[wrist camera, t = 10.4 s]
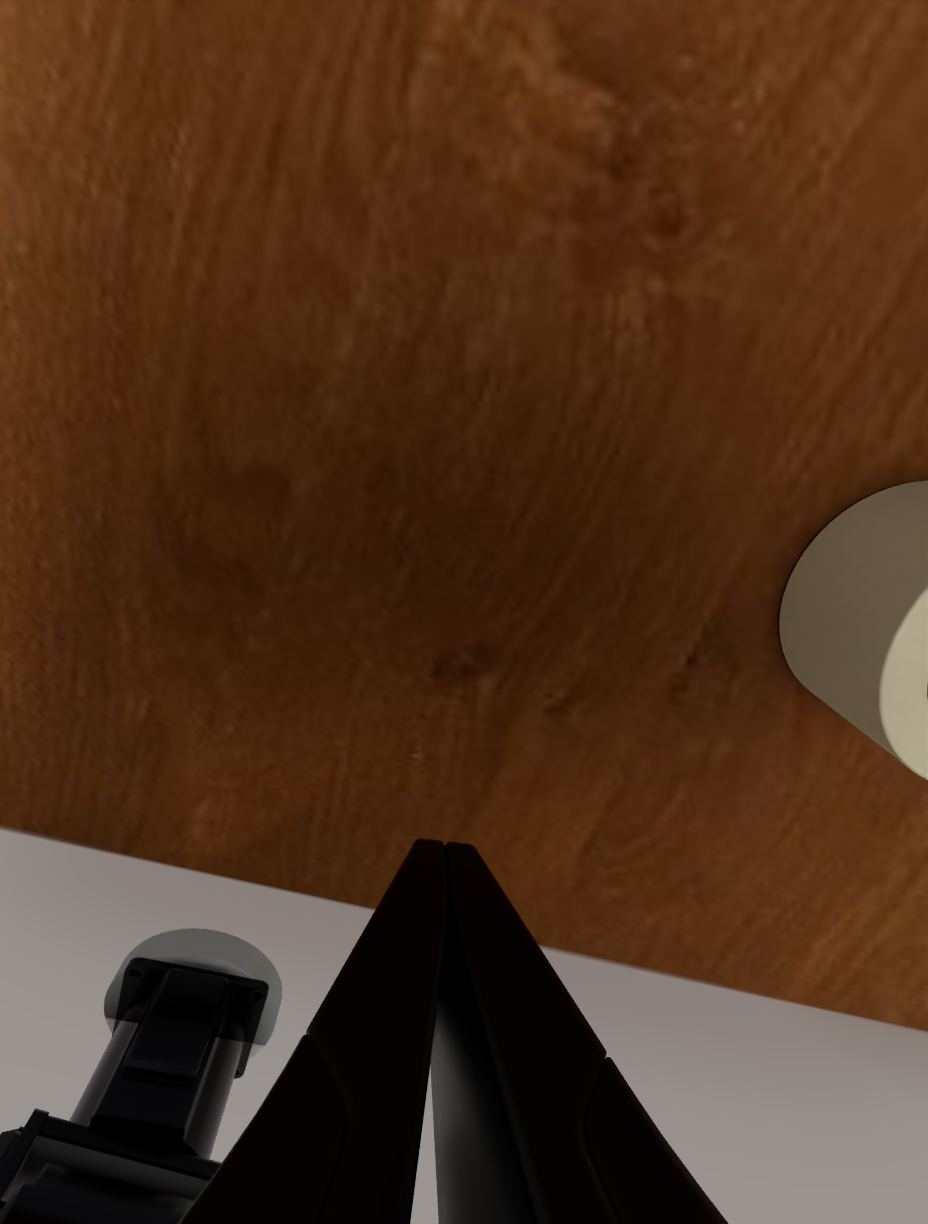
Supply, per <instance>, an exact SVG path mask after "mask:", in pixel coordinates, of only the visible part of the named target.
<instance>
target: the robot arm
mask: <svg viewBox="0 0 928 1224" xmlns="http://www.w3.org/2000/svg"><path fill="white" fill-rule="evenodd" d="M268 992H269V985H268V984H267V983H266V982H265V981H262V980H257V979H252V978H247V977H241V976H236V975H231V974H226V973H221V972H215V971H210V970H205V969H200V968H195V967H189V966H184V965H179V964H174V963H169V962H163V961H158V960H153V959H148V958H143V957H136V958H133V959H131V960H130V962H129V963H128V965H127V967H126V969H125V971H124V976H123V981H122V987H121V992H120V997H119V1002H118V1008H117V1013H116V1018H115V1023H114V1028H113V1034H112V1038H111V1040H110V1042H109V1044H108V1046H107V1048H106V1050H105V1052H104V1054H103V1056H102V1058H101V1060H100V1062H99V1064H98V1066H97V1068H96V1070H95V1072H94V1074H93V1076H92V1078H91V1080H90V1082H89V1083H88V1085H87V1087H86V1089H85V1091H84V1093H83V1095H82V1097H81V1099H80V1101H79V1103H78V1105H77V1107H76V1109H75V1111H74V1113H73V1115H72V1117H71V1118H70V1120H69V1121H67V1120H63V1119H60V1118H56V1117H52V1116H49V1115H48V1114H49V1112H46V1111H43V1110H39V1109H35V1110H34V1112H33V1114H32V1115H31V1117H30V1118H29V1120H28V1122H27V1123H26V1125H25V1127H20V1128H19V1129H15V1130H11V1131H6V1132H2V1133H1V1135H0V1224H410V1219H411V1212H412V1204H413V1196H414V1188H415V1181H416V1172H417V1164H418V1157H419V1149H420V1141H421V1132H422V1125H423V1117H424V1108H425V1100H426V1093H427V1085H428V1077H429V1070H430V1064H431V1082H432V1101H433V1118H434V1119H433V1120H434V1140H435V1158H436V1178H437V1195H438V1215H439V1224H728V1222H727V1221H726V1220H725V1219H724V1217H723V1216H722V1215H721V1214H720V1212H719V1211H718V1209H717V1208H716V1207H715V1206H714V1204H713V1203H712V1202H711V1200H710V1199H709V1198H708V1196H707V1195H706V1194H705V1192H704V1191H703V1190H702V1188H701V1187H700V1186H699V1184H698V1183H697V1182H696V1180H695V1179H694V1178H693V1176H692V1175H691V1174H690V1172H689V1171H688V1170H687V1168H686V1167H685V1165H684V1164H683V1163H682V1161H681V1160H680V1159H679V1157H678V1156H677V1155H676V1153H675V1152H674V1151H673V1149H672V1148H671V1146H670V1145H669V1144H668V1142H667V1141H666V1140H665V1138H664V1137H663V1136H662V1134H661V1133H660V1131H659V1130H658V1128H657V1127H656V1125H655V1124H654V1122H653V1121H652V1119H651V1118H650V1116H649V1115H648V1113H647V1112H646V1110H645V1109H644V1108H643V1106H642V1105H641V1103H640V1102H639V1100H638V1099H637V1097H636V1096H635V1094H634V1093H633V1091H632V1090H631V1088H630V1087H629V1085H628V1084H627V1082H626V1081H625V1079H624V1077H623V1076H622V1074H621V1073H620V1072H619V1070H618V1068H617V1066H616V1065H615V1064H614V1062H613V1060H612V1059H611V1058H610V1057H607V1058H605V1057H606V1050H605V1048H604V1047H603V1045H602V1044H601V1042H600V1040H599V1039H598V1037H597V1036H596V1034H595V1033H594V1031H593V1030H592V1028H591V1026H590V1025H589V1023H588V1022H587V1020H586V1019H585V1017H584V1016H583V1014H582V1013H581V1011H580V1009H579V1008H578V1006H577V1005H576V1003H575V1002H574V1000H573V998H572V997H571V995H570V994H569V992H568V991H567V989H566V988H565V986H564V985H563V983H562V981H561V980H560V978H559V977H558V975H557V974H556V972H555V971H554V969H553V967H552V966H551V964H550V963H549V961H548V960H547V958H546V957H545V955H544V954H543V952H542V950H541V949H540V947H539V946H538V944H537V943H536V941H535V939H534V938H533V936H532V935H531V933H530V932H529V930H528V929H527V927H526V925H525V924H524V922H523V921H522V919H521V918H520V916H519V915H518V913H517V911H516V910H515V908H514V907H513V905H512V904H511V902H510V901H509V899H508V897H507V896H506V894H505V893H504V891H503V890H502V888H501V887H500V885H499V883H498V882H497V880H496V879H495V877H494V876H493V874H492V873H491V871H490V869H489V868H488V866H487V865H486V863H485V862H484V860H483V859H482V857H481V855H480V854H479V852H478V851H477V849H476V848H475V847H474V846H473V845H472V844H468V843H459V842H447V843H446V844H445V845H444V843H443V842H442V841H440V840H432V839H422V838H419V839H417V840H416V841H415V842H414V844H413V845H412V847H411V849H410V851H409V852H408V854H407V856H406V858H405V859H404V861H403V863H402V865H401V866H400V868H399V870H398V872H397V873H396V875H395V877H394V879H393V880H392V882H391V884H390V886H389V887H388V889H387V891H386V893H385V894H384V896H383V898H382V900H381V901H380V903H379V905H378V906H377V908H376V910H375V912H374V913H373V915H372V917H371V919H370V920H369V923H368V924H367V926H366V927H365V929H364V931H363V933H362V934H361V936H360V938H359V940H358V941H357V943H356V945H355V947H354V948H353V950H352V952H351V954H350V955H349V957H348V959H347V961H346V962H345V964H344V966H343V967H342V969H341V971H340V973H339V974H338V976H337V978H336V980H335V981H334V983H333V985H332V987H331V989H330V990H329V992H328V994H327V995H326V997H325V999H324V1001H323V1002H322V1004H321V1006H320V1008H319V1009H318V1011H317V1013H316V1015H315V1017H314V1018H313V1020H312V1022H311V1023H310V1025H309V1027H308V1029H307V1032H306V1035H304V1036H303V1037H302V1038H301V1040H300V1042H299V1043H298V1045H297V1047H296V1049H295V1050H294V1052H293V1054H292V1056H291V1057H290V1059H289V1061H288V1063H287V1064H286V1066H285V1068H284V1070H283V1071H282V1073H281V1074H280V1076H279V1077H278V1079H277V1081H276V1082H275V1084H274V1086H273V1087H272V1089H271V1090H270V1092H269V1094H268V1095H267V1097H266V1099H265V1100H264V1102H263V1103H262V1105H261V1107H260V1108H259V1110H258V1111H257V1113H256V1115H255V1116H254V1117H253V1119H252V1120H251V1122H250V1123H249V1125H248V1126H247V1128H246V1129H245V1130H244V1132H243V1133H242V1135H241V1136H240V1138H239V1139H238V1141H237V1142H236V1144H235V1145H234V1146H233V1148H232V1149H231V1151H230V1152H229V1154H228V1155H227V1157H226V1158H225V1159H224V1161H223V1162H222V1163H220V1162H216V1161H213V1160H209V1159H210V1155H211V1152H212V1149H213V1146H214V1142H215V1139H216V1136H217V1132H218V1129H219V1126H220V1122H221V1119H222V1116H223V1112H224V1109H225V1106H226V1102H227V1099H228V1096H229V1093H230V1089H231V1086H232V1082H233V1079H235V1078H240V1077H241V1076H243V1074H244V1071H245V1067H246V1065H247V1061H248V1058H249V1055H250V1051H251V1048H252V1045H253V1042H254V1038H255V1035H256V1032H257V1029H258V1025H259V1022H260V1019H261V1015H262V1012H263V1009H264V1006H265V1002H266V999H267V996H268Z"/></svg>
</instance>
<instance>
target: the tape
mask: <svg viewBox="0 0 928 1224" xmlns="http://www.w3.org/2000/svg"><path fill="white" fill-rule="evenodd" d="M779 628H780V640H781V644H782V649H783V653H784V655H785V658H786V660H787V663H788V665H789V667H790V669H791V670H792V672H793V674H794V675H795V676H796V678H797V679H798V680H799V681H800V682H801V684H802V685H803V686H804V687H806V688H807V689H808V690H809V691H810V692H812V693H813V694H814V695H815V696H817V697H818V698H819V699H820V700H822V701H823V702H824V703H826V704H827V705H828V706H830V707H831V708H832V709H833V710H835V711H836V712H837V713H839V714H840V715H841V716H842V717H844V718H845V719H846V720H848V721H849V722H850V723H851V724H853V725H854V726H855V727H857V728H858V729H859V730H860V731H862V732H863V733H864V734H866V735H867V736H868V737H869V738H871V739H872V740H873V741H875V742H876V743H877V744H878V745H880V746H881V747H882V748H884V749H885V750H886V751H887V752H889V753H890V754H891V755H893V756H894V757H895V758H896V759H898V760H899V761H900V762H902V763H903V764H904V765H906V766H907V767H908V768H909V769H911V770H912V771H913V772H915V773H916V774H918V775H920V776H921V777H923V778H925V779H926V780H928V480H926V481H918V482H910V483H906V484H902V485H898V486H894V487H891V488H888V489H885V490H883V491H880V492H877V493H875V494H873V495H871V496H869V497H867V498H865V499H863V500H861V501H859V502H857V503H856V504H854V505H853V506H851V507H850V508H848V509H847V510H845V511H844V512H842V513H841V514H840V515H839V516H838V517H836V518H835V519H834V520H833V521H831V522H830V523H829V524H828V525H827V526H826V527H825V528H824V529H823V530H822V531H821V532H820V533H819V534H818V535H817V536H816V537H815V539H814V540H813V541H812V542H811V544H810V545H809V546H808V547H807V549H806V550H805V551H804V553H803V555H802V556H801V558H800V559H799V561H798V562H797V564H796V566H795V568H794V570H793V572H792V574H791V576H790V578H789V580H788V583H787V586H786V589H785V592H784V595H783V600H782V604H781V609H780V621H779Z"/></svg>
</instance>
